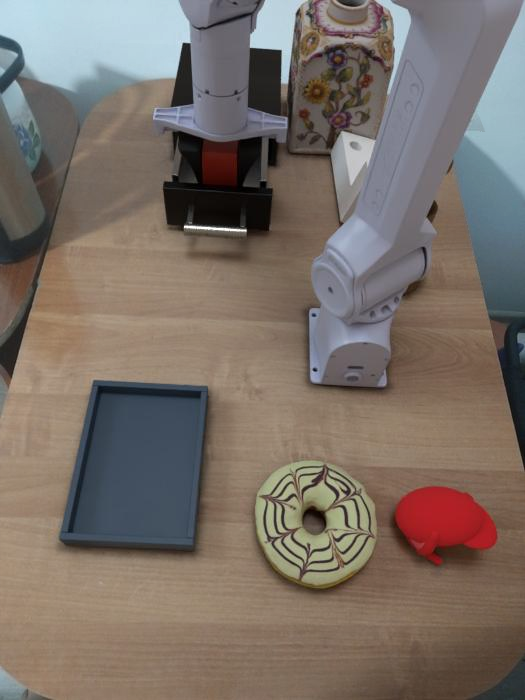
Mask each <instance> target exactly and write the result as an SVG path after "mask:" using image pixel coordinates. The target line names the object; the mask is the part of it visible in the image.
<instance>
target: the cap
mask: <svg viewBox="0 0 525 700" xmlns="http://www.w3.org/2000/svg"><path fill="white" fill-rule="evenodd" d="M394 518H395V522H396V525H397V527H398V529H399V530H400V531H401V532H402V533H403V535H405V538H406V540H407V541H408V544H410V546H412V548H414V549H415V551H416V554H418V555H419V556H424V557H425V558H426V559H427V560H429V561H431V562H432V563H434V564H435V565H437V566H441V565H442V564H443V559H442V558H441V557H440V556H438V555H437V554H436V553H434V551H435V549H436V548H437V547H438V548H447V547H454V546H459V545H461V544H462V545H464V546H466V547H468V548H471V549H474V550H477V551H478V550H479V551H485V550H489V549H491V548H493V547H494V546H495V545H496V544H497V541H498V536H499V535H498V529H497V525H496V524H495V522H494V520H493V518H492V517H491V515H490V514H489V513H488V511H486V509H484V507H482V505H480V504H479V503H478V502H476V501H475V499H474V497H473V496H472V495H471V494H470V493H469V492H467V491H466V492H465V491H463V492H462V491H460V490H458V489H455V488H452V487H448V486H439V485H432V486H431V485H430V486H423V487H420V488H416V489H414V490H411V491H410V492H408V493H406V494H405V495H403V496H401V498H400V501H399V502H398V503H397V505H396V507H395V512H394Z"/></svg>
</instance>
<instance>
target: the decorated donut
mask: <svg viewBox="0 0 525 700" xmlns="http://www.w3.org/2000/svg"><path fill="white" fill-rule="evenodd" d="M255 498H256V499H255V505H254V517H255V518H254V523H255V525H254V526H255V531H256V537H257V540H258V542H259V545H260V547H261V549H262V551H263V553H264V556H265V557H266V559H267V561H268V562H269V563H270V564H271V566H272V567H273V569H274V570H275V571H276V572H277V573H279V574H280V575H281V576H283V577H284V578H286V579H288V580H290V581H291V582H293V583H296V584H298V585H301V586H303V587H306V588H307V587H308V588H313V589H328V588H330V587H334V586H336V585H339V584H340V583H342V582H344V581H347V580H348V579H349V578H352V577H353V576H354V575H355V574H357V573H358V572H359V571H360V570H361V569H363V567H364V566H365V565H366V564H367V563H368V561H369V559H370V557H371V556H372V554H373V552H374V549H375V545H376V542H377V540H378V539H377V536H378V521H377V516H376V510H377V509H376V505H375V503H374V501H373V499H372V498H371V497H370V496H369V495H368V494H367V493H366V488H365V486H364V485H363V484H362V483H360V482H359V481H358V480H357V479H355V478H353V477H352V475H351V474H349V473H348V472H347V471H345V470H344V469H342V468H341V467H340V466H338V465H335V464H333V463H330V462H325V461H320V460H316V459H308V460H299V461H297V462H296V461H294V462H290V463H289V464H286V465H283V466H281V467H279V468H278V469H276V470H275V471H274V472H272V473H271V474H270V475H269V477H268V478H267V479H266V480H265V482H263V484H262V486H261V487H260V488H259V490H258V491H257V494H256V497H255ZM308 510H315V512H319V513H320V514H321V515H322V517H323V518H324V520H325V529H324V530H322V532H320V533H319V534H311V533H309V532H308V531H307V530H306V528H305V526H304V524H303V517H304V514H305V512H306V511H308Z"/></svg>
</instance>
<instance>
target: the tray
mask: <svg viewBox="0 0 525 700" xmlns="http://www.w3.org/2000/svg"><path fill="white" fill-rule="evenodd" d="M208 404H209V386H208V385H192V384H176V383H175V384H174V383H158V382H138V381H119V380H102V379H93V380H92V385H91V390H90V394H89V398H88V403H87V407H86V413H85V417H84V420H83V421H84V422H83V426H82V431H81V436H80V440H79V445H78V450H77V453H76V459H75V463H74V468H73V473H72V478H71V481H70V487H69V490H68V496H67V501H66V505H65V510H64V514H63V519H62V522H61V523H62V524H61V528H60V533H59V537H58V540H59V541H60V542H61V543H62V544H63V545H64V546H79V547H80V546H81V547H101V548H102V547H105V548H125V549H147V550H165V551H166V550H167V551H168V550H169V551H191V552H192V551H195V545H196V534H197V524H198V523H197V522H198V514H199V513H198V512H199V503H200V493H201V492H200V490H201V479H202V468H203V460H204V459H203V458H204V445H205V438H206V437H205V435H206V427H207V426H206V425H207V415H208V414H207V413H208Z"/></svg>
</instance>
